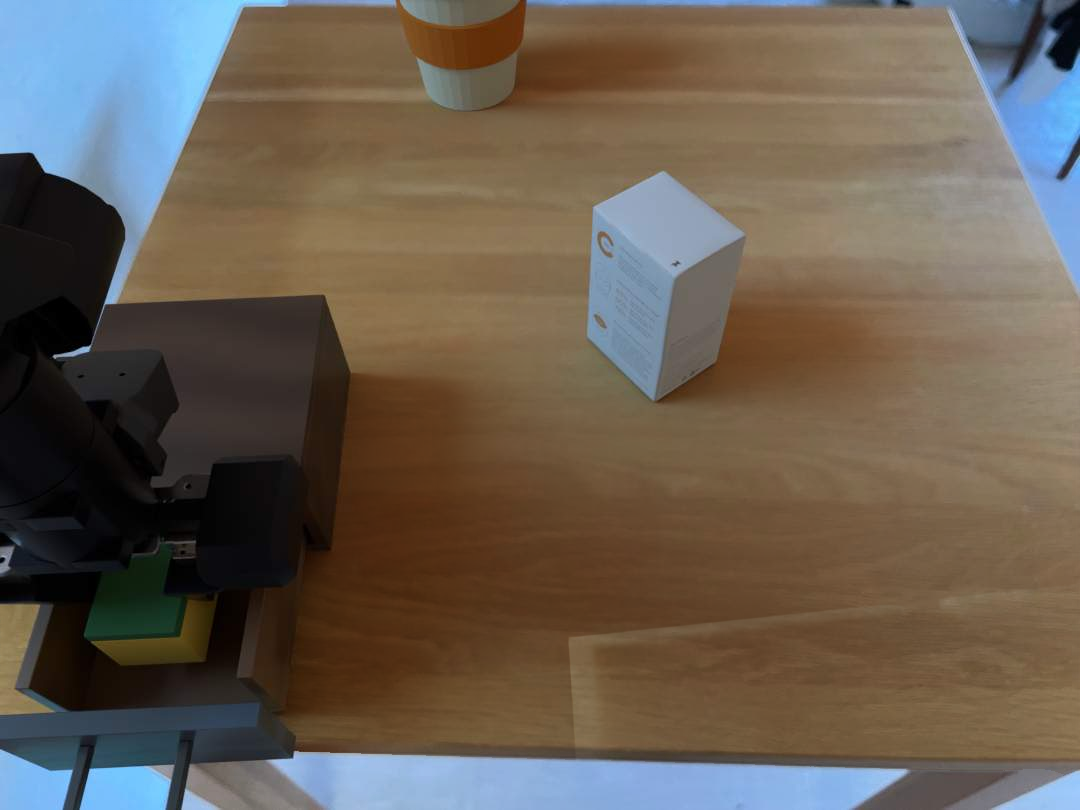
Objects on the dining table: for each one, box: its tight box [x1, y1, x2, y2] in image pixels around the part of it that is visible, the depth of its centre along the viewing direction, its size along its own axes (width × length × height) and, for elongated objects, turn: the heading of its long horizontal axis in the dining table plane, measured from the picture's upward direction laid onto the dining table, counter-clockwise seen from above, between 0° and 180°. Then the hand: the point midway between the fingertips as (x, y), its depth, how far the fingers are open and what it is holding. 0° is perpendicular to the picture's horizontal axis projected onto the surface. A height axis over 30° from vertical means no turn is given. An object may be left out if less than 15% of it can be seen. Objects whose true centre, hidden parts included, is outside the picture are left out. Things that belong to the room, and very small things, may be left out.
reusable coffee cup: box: [395, 0, 528, 112], centre depth 77 cm, size 12×13×15 cm
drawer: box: [0, 528, 307, 810], centre depth 46 cm, size 18×13×7 cm
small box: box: [586, 170, 748, 403], centre depth 58 cm, size 8×6×13 cm
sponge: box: [84, 538, 218, 666], centre depth 46 cm, size 7×5×4 cm, turn 2°
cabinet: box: [88, 294, 351, 552], centre depth 55 cm, size 15×15×9 cm
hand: (169, 594), depth 47 cm, fingers closed on sponge, 4 cm apart
